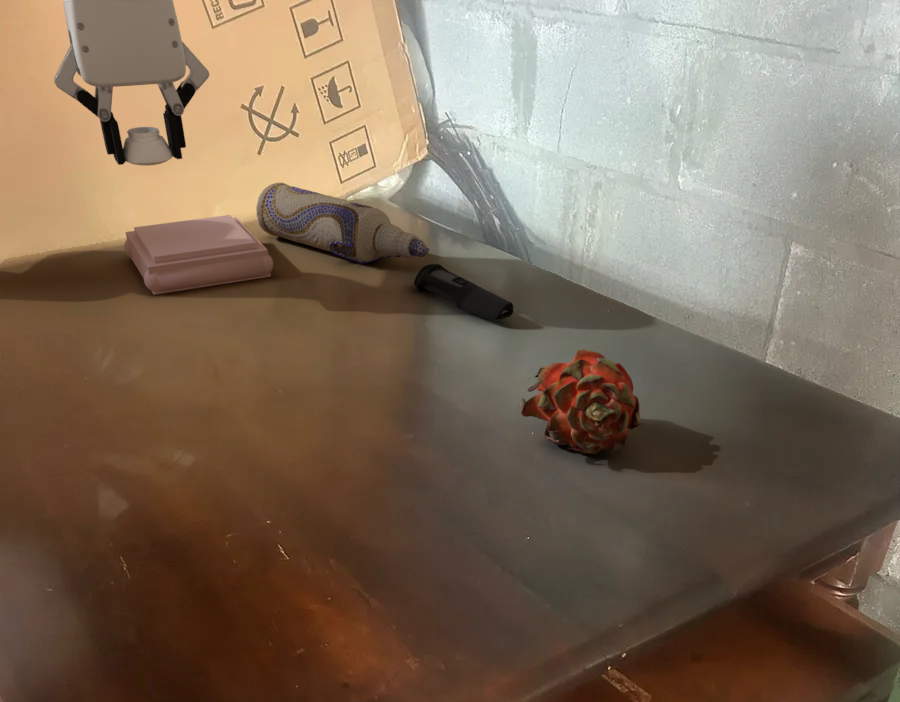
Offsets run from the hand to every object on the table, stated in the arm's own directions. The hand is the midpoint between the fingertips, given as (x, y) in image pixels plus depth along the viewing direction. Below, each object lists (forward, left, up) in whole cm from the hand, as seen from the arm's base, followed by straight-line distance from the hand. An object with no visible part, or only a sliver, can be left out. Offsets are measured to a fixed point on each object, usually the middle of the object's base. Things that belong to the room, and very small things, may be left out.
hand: (147, 156), depth 94 cm
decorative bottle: (+22, +7, -15) cm, 28 cm away
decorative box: (+5, +10, -15) cm, 19 cm away
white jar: (0, 0, -1) cm, 1 cm away
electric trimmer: (+29, -15, -15) cm, 36 cm away
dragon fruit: (+24, -47, -15) cm, 55 cm away
